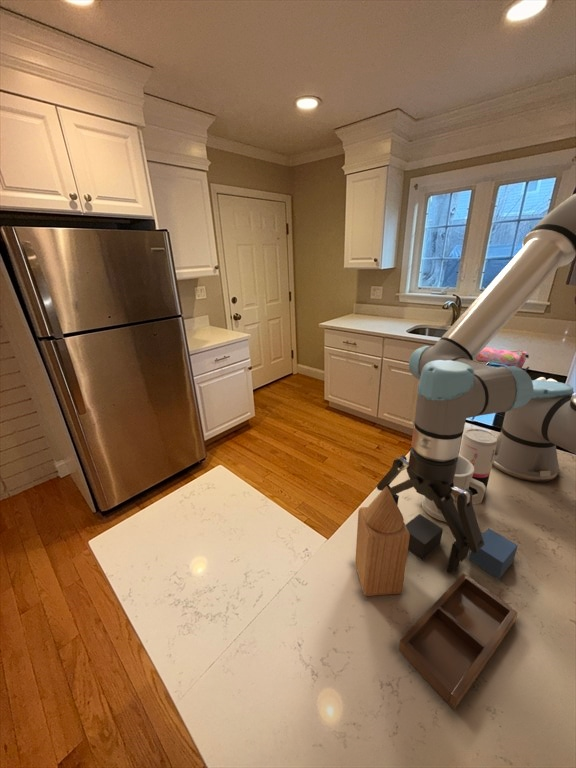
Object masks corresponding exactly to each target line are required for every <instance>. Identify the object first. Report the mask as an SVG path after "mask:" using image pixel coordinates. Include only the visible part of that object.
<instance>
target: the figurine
mask: <svg viewBox="0 0 576 768" xmlns="http://www.w3.org/2000/svg"><path fill="white" fill-rule="evenodd" d="M535 380H545V381H554V382H558V381H557V380H556V379H553V378H548V379H546V377H545V376H540V377H538V378H536V379H535Z"/></svg>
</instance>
